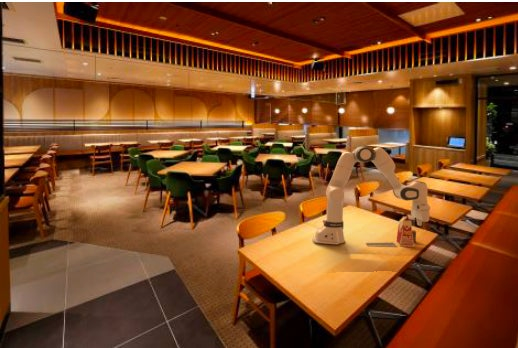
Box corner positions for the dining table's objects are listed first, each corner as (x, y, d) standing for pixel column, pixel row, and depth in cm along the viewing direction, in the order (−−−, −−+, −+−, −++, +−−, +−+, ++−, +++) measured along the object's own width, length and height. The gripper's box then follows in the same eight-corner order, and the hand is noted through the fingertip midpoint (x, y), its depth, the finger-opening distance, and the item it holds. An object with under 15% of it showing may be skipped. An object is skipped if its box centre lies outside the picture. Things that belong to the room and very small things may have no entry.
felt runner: (367, 246, 192) (367, 245, 192) (364, 242, 201) (364, 241, 201) (397, 246, 189) (397, 246, 189) (392, 242, 198) (392, 242, 198)
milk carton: (414, 246, 189) (415, 217, 188) (399, 246, 191) (400, 216, 190) (410, 242, 198) (410, 214, 197) (395, 242, 200) (396, 214, 199)
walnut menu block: (410, 242, 198) (410, 231, 198) (408, 241, 202) (408, 230, 201) (415, 242, 198) (416, 231, 197) (413, 241, 201) (414, 230, 201)
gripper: (408, 202, 203) (408, 221, 203) (421, 207, 182) (420, 228, 183) (418, 202, 202) (417, 221, 203) (431, 207, 181) (431, 229, 182)
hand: (419, 225), depth 193 cm, fingers closed
